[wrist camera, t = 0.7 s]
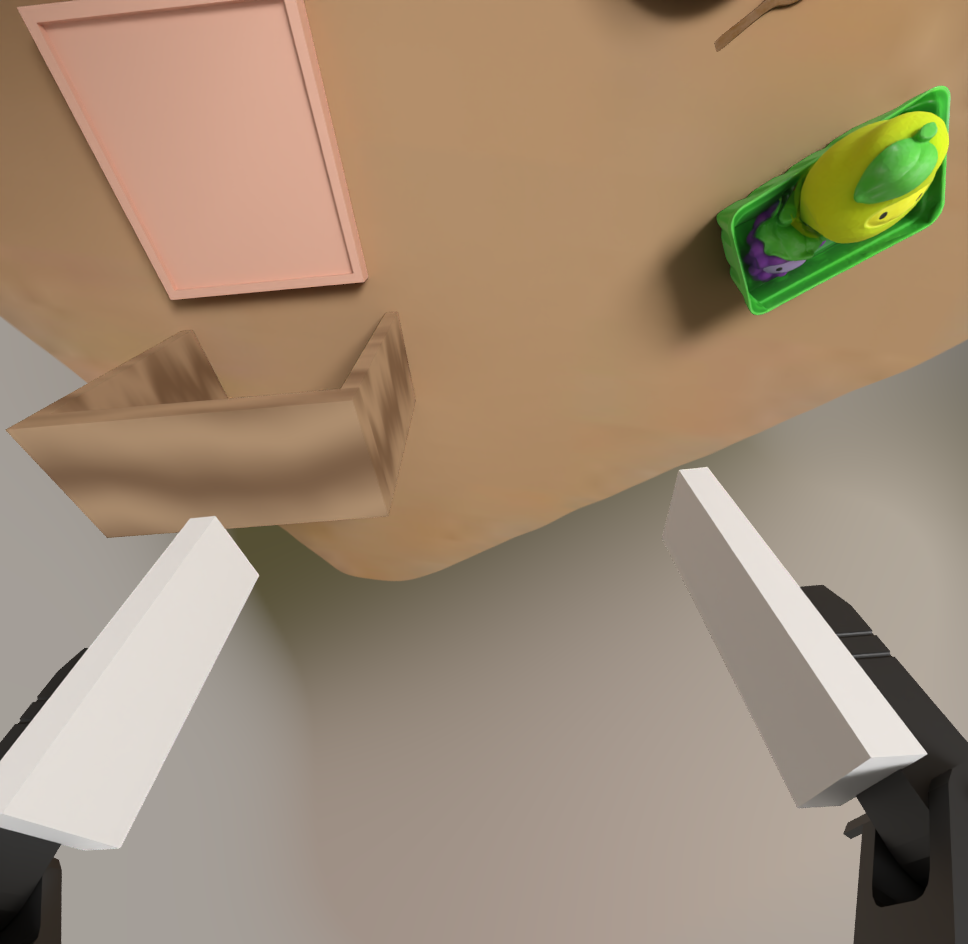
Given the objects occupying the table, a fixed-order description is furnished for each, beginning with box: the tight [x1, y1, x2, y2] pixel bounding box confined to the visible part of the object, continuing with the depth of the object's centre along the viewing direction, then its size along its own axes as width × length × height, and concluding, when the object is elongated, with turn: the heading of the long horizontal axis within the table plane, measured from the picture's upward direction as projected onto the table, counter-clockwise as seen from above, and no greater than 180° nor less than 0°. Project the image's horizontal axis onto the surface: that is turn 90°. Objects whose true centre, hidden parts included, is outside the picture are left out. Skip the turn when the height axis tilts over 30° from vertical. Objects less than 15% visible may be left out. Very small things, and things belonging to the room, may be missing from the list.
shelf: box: [6, 312, 416, 538], centre depth 29 cm, size 8×18×16 cm, turn 95°
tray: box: [17, 0, 368, 300], centre depth 24 cm, size 18×15×3 cm
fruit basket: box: [717, 86, 950, 315], centre depth 24 cm, size 11×9×11 cm
